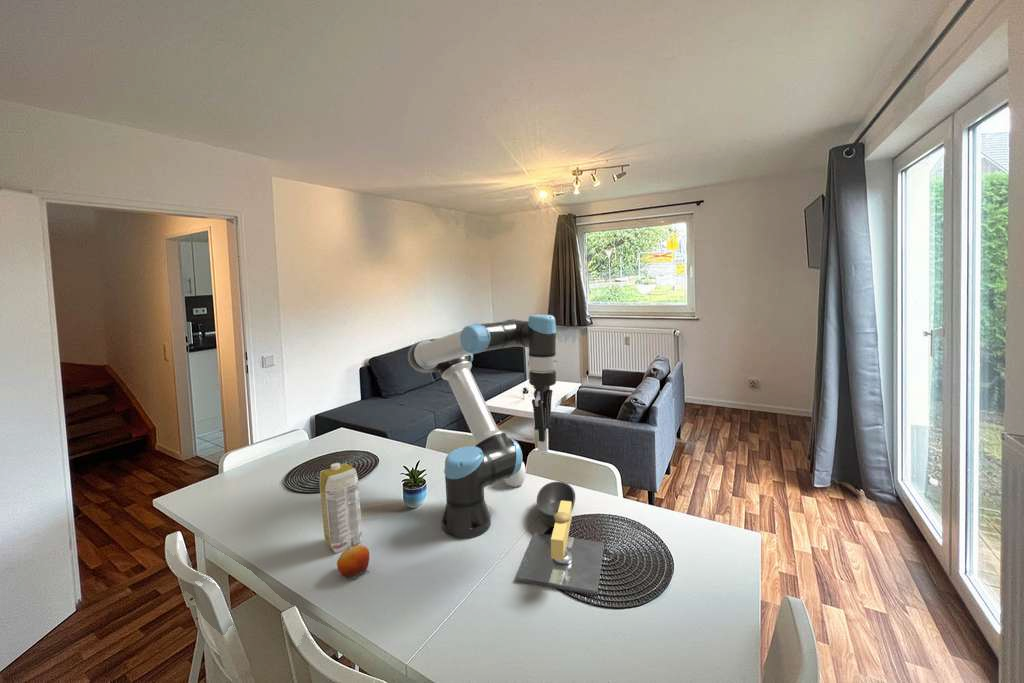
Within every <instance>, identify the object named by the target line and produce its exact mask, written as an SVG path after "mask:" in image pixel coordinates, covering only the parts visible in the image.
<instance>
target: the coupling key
mask: <svg viewBox="0 0 1024 683" xmlns="http://www.w3.org/2000/svg"><path fill="white" fill-rule="evenodd" d="M572 513H573V510H572V501H561V502H560V506H559V510H558V513H556V514H555V515H554V519H555V525H554V528H553V530H552V532H551V535H552V537H551V558H553V559H561V560H564V555H565V550H566V545H567V540H568V537H569V533H570V528H571V524H572V517H573V515H572Z"/></svg>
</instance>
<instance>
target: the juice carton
mask: <svg viewBox="0 0 1024 683" xmlns="http://www.w3.org/2000/svg"><path fill="white" fill-rule="evenodd" d="M358 477H359V476H358V473H357V470H356V468H355V467H353V466H352V465H351V464H349V463H347V462H345V463H342V464H341V463H340V462H335V463H332V464H330V468H326V469H324V470H320V472H319V492H320V504H321V513H322V525H323V526H322V527H323V535H324V539H325V543H326V544H327V546H328V547H329V548H330V549H331V551H333V552H334V553H335V554H337V553H340V552H341V553H342V552H344V551H345V550H347V549H349V548H352V547H354V546H356V545H359V544H360V543H361V542H362V535H363V533H362V532H363V531H362V530H363V526H362V513H361V503H360V502H361V500H360V488H359V487H360V486H359V478H358Z"/></svg>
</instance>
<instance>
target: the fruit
mask: <svg viewBox="0 0 1024 683" xmlns="http://www.w3.org/2000/svg"><path fill="white" fill-rule="evenodd" d="M369 563H370V550H369V549H368V547H366V546H365V545H363V544H356V545H354V546H351V547H349V548H347V549H345V550H343V551H342V552H341V554H340V556H339V557H338V558H337V561H336V566H337V571H338V573H339V574H340V575H341V577H343V578H344V579H345V578H346V579H353V580H356V579H357V577H359V575H360V574H362V573H366V572H368V573H370V571H368V567H369Z"/></svg>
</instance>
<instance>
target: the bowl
mask: <svg viewBox="0 0 1024 683" xmlns="http://www.w3.org/2000/svg"><path fill="white" fill-rule="evenodd" d="M561 501H572V511H573V510H574V506H575V502H576V492H575V489H574V488H573V486H571V485H570V484H568V483H566V482H564V481H551V482H549V483H547V484H545V485H543V486H542V487H541V488H540V489H539V491H538V493H537V496H536V505H537V508H538V511H539V514H540V516H541V518H542V519H543V521H544V522H545V523H546V524H547V526H548V527H550V526H551V527H550V528H553V527H554V525H555V519H554V515H555V514H556V513H558V510H559V506H560V502H561Z"/></svg>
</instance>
